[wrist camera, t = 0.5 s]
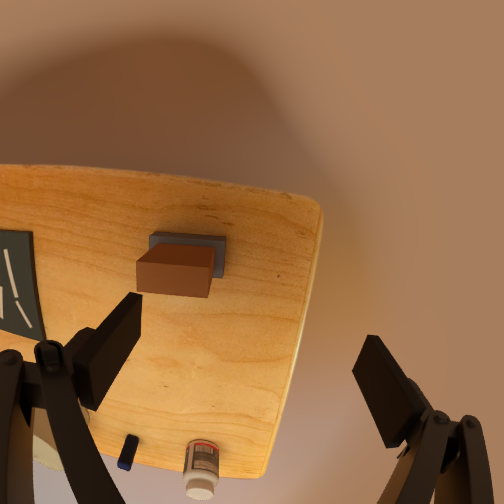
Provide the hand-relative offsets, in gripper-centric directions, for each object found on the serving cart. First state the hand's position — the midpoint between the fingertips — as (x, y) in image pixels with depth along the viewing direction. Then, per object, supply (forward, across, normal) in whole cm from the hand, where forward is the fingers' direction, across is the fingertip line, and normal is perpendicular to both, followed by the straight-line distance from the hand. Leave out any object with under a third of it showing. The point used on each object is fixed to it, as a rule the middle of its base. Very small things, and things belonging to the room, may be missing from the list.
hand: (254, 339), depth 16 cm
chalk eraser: (+18, -7, -1) cm, 19 cm away
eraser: (+16, -13, -35) cm, 41 cm away
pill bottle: (+16, -1, -34) cm, 38 cm away
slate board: (+16, -34, -11) cm, 39 cm away
